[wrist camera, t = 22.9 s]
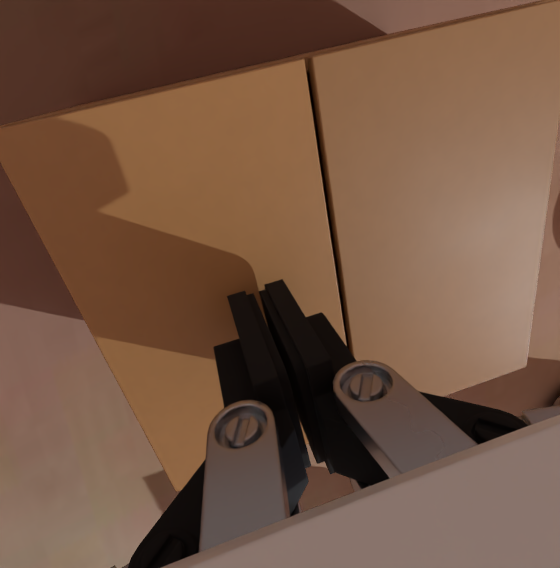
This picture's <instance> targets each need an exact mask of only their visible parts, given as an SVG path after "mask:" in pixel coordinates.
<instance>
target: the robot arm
mask: <svg viewBox="0 0 560 568" xmlns="http://www.w3.org/2000/svg"><path fill="white" fill-rule="evenodd" d="M264 286H265V290H262V291H259V295H260V299H261V302H262V306H263V310H264V314H265V318H266V321H267V324H266V321H265V319H264V317H263V314H262V312H261V310H260V307H259V305H258V303H257V300H256V298H255V295H254V293H252V294H248V295H246V292H245V291H241V292H238V293H235V294H232V295H228V296H227V298H228V302H229V305H230V308H231V312H232V315H233V319H234V322H235V326H236V329H237V332H238V336H239V339H236V340H233V341H230V342H226V343H223V344H220V345H217V346H214V354H215V360H216V365H217V371H218V376H219V382H220V387H221V393H222V398H223V404H224V408H223V409H222V410H221V411H220V412H219V413H218V414H217V415H216V416H215V417H214V418H213V420H212V421H211V423H210V425H209V429H208V432H207V444H206V458H205V460H204V462H203V463H202V464H201V466H200V467H199V468H198V469H197V471H196V472H195V473H194V475H193V476H192V477H191V479H190V480H189V481H188V482H187V484H186V485H185V486H184V488H183V489H182V490H181V491H180V493H179V494H178V495H177V497H176V498H175V499H174V501H173V502H172V503H171V504H170V506H169V507H168V508H167V510H166V511H165V512H164V514H163V515H162V516H161V517H160V519H159V520H158V521H157V523H156V524H155V525H154V526H153V528H152V529H151V530H150V532H149V533H148V534H147V536H146V537H145V538H144V539H143V541H142V542H141V543H140V545H139V546H138V548H137V549H136V551H135V553H134V554H133V556H132V557H131V560H130V563H129V564H127V565H126V566H124V567H122V568H560V405H559V406H552V407H545V408H538V409H531V410H524V411H522V416H521V417H516V416H514V415H513V414H510V413H507V412H504V411H501V410H498V409H493V408H489V407H485V406H480V405H476V404H472V403H467V402H463V401H459V400H454V399H450V398H446V397H441V396H437V395H433V394H428V393H424V392H419V391H417V390H416V389H415V388H414V387H413V386H412V385H411V384H409V383H408V382H407V381H406V380H405V379H404V378H403V377H402V376H400V375H399V374H398V373H397V372H396V371H395V370H394V369H393V368H391V367H389V366H388V365H386V364H384V363H381V362H378V361H371V360H363V361H356V359H355V358H354V356H353V355H352V353H351V352H350V351H349V349H348V348H347V346H346V345H345V343H344V342H343V341H342V339H341V338H340V336H339V335H338V333H337V332H336V331H335V329H334V328H333V326H332V325H331V323H330V322H329V321H328V319H327V318H326V316H325V315H324V314H323V313H322V312H320V313H317V314H314V315H311V316H308V317H305V315H304V313H303V312H302V310H301V308H300V307H299V305H298V303H297V302H296V300H295V299H294V297H293V295H292V294H291V292H290V290H289V289H288V287H287V285H286V284H285V282H284V281H283V279H281V280H278V281H274V282H271V283H268V284H265V285H264ZM267 325H268V326H267ZM300 422H301V424H300ZM301 425H302V427H303V430H304V432H305V435H306V437H307V440H308V442H309V445H310V447H311V450H312V452H313V455H314V457H315V460H316V462H317V464H318V463H321V462H324V461H325V463H326V465H327V468H328V470H329V473H330V474H332V473H335V472H336V473H338V474H341V475H344V476H346V477H349V478H350V482H351V484H352V486H353V488H354V490H355V492H353V493H351V494H348V495H346V496H343V497H340V498H338V499H335V500H333V501H330V502H328V503H325V504H322V505H320V506H317V507H315V508H312V509H309V510H307V511H304V512H301V507H300V504H299V499H300V497H301V495H302V493H303V491H304V489H305V488H306V486H307V484H308V482H309V481H308V478H307V474H306V470H305V468H307V467H310V466H311V464H310V460H309V456H308V452H307V448H306V444H305V440H304V436H303V432H302V428H301ZM111 568H116V566H115V565H114V566H113V567H111Z"/></svg>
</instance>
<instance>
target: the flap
mask: <svg viewBox="0 0 560 568" xmlns="http://www.w3.org/2000/svg"><path fill="white" fill-rule="evenodd" d="M0 163H1V165H2V167H3V168H4V170H5V172H6V174H7V176H8V178H9V180H10V182H11V183H12V185H13V187H14V189H15V191H16V193H17V195H18V197H19V198H20V200H21V202H22V204H23V206H24V208H25V210H26V212H27V213H28V215H29V217H30V219H31V221H32V223H33V225H34V227H35V228H36V230H37V232H38V234H39V236H40V238H41V240H42V242H43V243H44V245H45V247H46V249H47V251H48V253H49V255H50V257H51V258H52V260H53V262H54V264H55V266H56V268H57V270H58V272H59V273H60V275H61V277H62V279H63V281H64V283H65V285H66V287H67V288H68V290H69V292H70V294H71V296H72V298H73V300H74V302H75V303H76V305H77V307H78V309H79V311H80V313H81V315H82V317H83V318H84V320H85V322H86V324H87V326H88V328H89V330H90V332H91V333H92V335H93V337H94V339H95V341H96V343H97V345H98V347H99V348H100V350H101V352H102V354H103V356H104V358H105V360H106V362H107V363H108V365H109V367H110V369H111V371H112V373H113V375H114V377H115V378H116V380H117V382H118V384H119V386H120V388H121V390H122V392H123V393H124V395H125V397H126V399H127V401H128V403H129V405H130V407H131V408H132V410H133V412H134V414H135V416H136V418H137V420H138V422H139V423H140V425H141V427H142V429H143V431H144V433H145V435H146V437H147V438H148V440H149V442H150V444H151V446H152V448H153V450H154V452H155V453H156V455H157V457H158V459H159V461H160V463H161V465H162V467H163V468H164V470H165V472H166V474H167V476H168V478H169V480H170V482H171V483H172V485H173V487H174V489H175V491H176V492H177V491H180V490H182V489H183V488H184V486H185V485H186V484H187V482H188V481H189V480H190V479H191V477H192V476H193V475H194V473H195V472H196V471H197V469H198V468H199V467H200V466H201V464H202V463H203V462H204V460H205V458H206V444H207V432H208V429H209V425H210V423H211V421H212V420H213V418H214V417H215V416H216V415H217V414H218V413H219V412H220V411H221V410H222V409H223V408H224V404H223V398H222V393H221V387H220V382H219V376H218V371H217V365H216V360H215V354H214V346H217V345H220V344H223V343H226V342H230V341H233V340H236V339H239V336H238V332H237V329H236V326H235V322H234V319H233V315H232V312H231V308H230V305H229V302H228V298H227V296H228V295H232V294H235V293H238V292H241V291H245V292H246V295H248V294H252V293H254V295H255V298H256V300H257V303H258V305H259V307H260V310H261V312H262V314H263V317H264V319H265V321H266V318H265V314H264V310H263V306H262V302H261V299H260V295H259V291H262V290H265V286H264V285H265V284H268V283H271V282H274V281H278V280H281V279H283V281H284V282H285V284H286V285H287V287H288V289H289V290H290V292H291V294H292V295H293V297H294V299H295V300H296V302H297V303H298V305H299V307H300V308H301V310H302V312H303V313H304V315H305V317H308V316H311V315H314V314H317V313H320V312H322V313H323V314H324V315H325V316H326V318H327V319H328V321H329V322H330V323H331V325H332V326H333V328H334V329H335V331H336V332H337V333H338V335H339V336H340V338H341V339H342V341H343V342H344V343H345V345H346V346H347V344H346V338H345V331H344V324H343V317H342V311H341V304H340V297H339V290H338V284H337V277H336V270H335V263H334V256H333V250H332V243H331V236H330V229H329V223H328V216H327V209H326V202H325V196H324V189H323V182H322V175H321V169H320V162H319V155H318V148H317V141H316V135H315V128H314V121H313V114H312V108H311V101H310V94H309V87H308V81H307V74H306V67H305V60H304V59H297V60H293V61H288V62H284V63H280V64H275V65H271V66H267V67H262V68H258V69H254V70H249V71H245V72H241V73H236V74H232V75H228V76H223V77H219V78H215V79H210V80H206V81H202V82H198V83H193V84H189V85H185V86H180V87H176V88H172V89H167V90H163V91H159V92H154V93H150V94H146V95H141V96H137V97H133V98H128V99H124V100H120V101H115V102H111V103H107V104H102V105H98V106H94V107H90V108H85V109H81V110H77V111H72V112H68V113H64V114H59V115H55V116H51V117H46V118H42V119H38V120H33V121H29V122H25V123H20V124H16V125H12V126H7V127H3V128H0ZM266 324H267V321H266ZM267 326H268V325H267ZM300 424H301V422H300ZM301 428H302V432H303V436H304V440H305V444H309V442H308V440H307V437H306V435H305V432H304V430H303V427H302V425H301Z"/></svg>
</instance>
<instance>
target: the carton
mask: <svg viewBox="0 0 560 568" xmlns="http://www.w3.org/2000/svg"><path fill="white" fill-rule="evenodd" d="M297 59H304V60H305V67H306V74H307V81H308V87H309V94H310V101H311V108H312V114H313V121H314V128H315V135H316V141H317V148H318V155H319V162H320V169H321V175H322V182H323V189H324V196H325V202H326V209H327V216H328V223H329V229H330V236H331V243H332V250H333V256H334V263H335V270H336V277H337V284H338V290H339V297H340V304H341V311H342V317H343V324H344V331H345V338H346V344H347V348H348V349H349V351H350V352H351V353H352V355H353V356H354V358H355V359H356V361H363V360H371V361H378V362H381V363H384V364H386V365H388V366H389V367H391V368H393V369H394V370H395V371H396V372H397V373H398V374H399V375H400V376H402V377H403V378H404V379H405V380H406V381H407V382H408V383H409V384H411V385H412V386H413V387H414V388H415V389H416V390H417V391H419V392H424V393H428V394H433V395H437V396H441V397H443V396H446V395H449V394H452V393H454V392H457V391H460V390H463V389H466V388H468V387H471V386H474V385H477V384H480V383H482V382H485V381H488V380H491V379H494V378H496V377H499V376H502V375H505V374H508V373H510V372H513V371H516V370H519V369H522V368H524V367H526V364H527V356H528V349H529V341H530V334H531V327H532V319H533V312H534V304H535V297H536V290H537V282H538V275H539V267H540V260H541V252H542V245H543V238H544V230H545V223H546V215H547V208H548V200H549V193H550V186H551V178H552V171H553V163H554V156H555V149H556V141H557V134H558V126H559V119H560V0H541V1H537V2H532V3H528V4H523V5H519V6H514V7H509V8H505V9H500V10H496V11H491V12H487V13H482V14H478V15H473V16H469V17H464V18H459V19H455V20H450V21H446V22H441V23H437V24H432V25H428V26H423V27H419V28H414V29H410V30H405V31H400V32H396V33H391V34H387V35H383V36H378V37H374V38H369V39H365V40H361V41H356V42H352V43H348V44H343V45H339V46H335V47H330V48H326V49H322V50H317V51H313V52H309V53H304V54H300V55H296V56H291V57H287V58H283V59H278V60H274V61H269V62H265V63H261V64H256V65H252V66H248V67H243V68H239V69H235V70H230V71H226V72H222V73H217V74H213V75H209V76H204V77H200V78H196V79H191V80H187V81H182V82H178V83H174V84H169V85H165V86H161V87H156V88H152V89H148V90H143V91H139V92H135V93H130V94H126V95H122V96H117V97H113V98H109V99H104V100H100V101H96V102H91V103H87V104H82V105H78V106H74V107H70V108H66V109H62V110H58V111H54V112H50V113H46V114H42V115H38V116H35V117H31V118H27V119H23V120H19V121H15V122H11V123H7V124H3V125H0V128H3V127H7V126H12V125H16V124H20V123H25V122H29V121H33V120H38V119H42V118H46V117H51V116H55V115H59V114H64V113H68V112H72V111H77V110H81V109H85V108H90V107H94V106H98V105H102V104H107V103H111V102H115V101H120V100H124V99H128V98H133V97H137V96H141V95H146V94H150V93H154V92H159V91H163V90H167V89H172V88H176V87H180V86H185V85H189V84H193V83H198V82H202V81H206V80H210V79H215V78H219V77H223V76H228V75H232V74H236V73H241V72H245V71H249V70H254V69H258V68H262V67H267V66H271V65H275V64H280V63H284V62H288V61H293V60H297Z"/></svg>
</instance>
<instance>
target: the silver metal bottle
mask: <svg viewBox="0 0 560 568" xmlns="http://www.w3.org/2000/svg"><path fill="white" fill-rule="evenodd" d="M559 405H560V396H559V398H558V399H557V400H556V401H555V403H554V404H553V406H559Z"/></svg>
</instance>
